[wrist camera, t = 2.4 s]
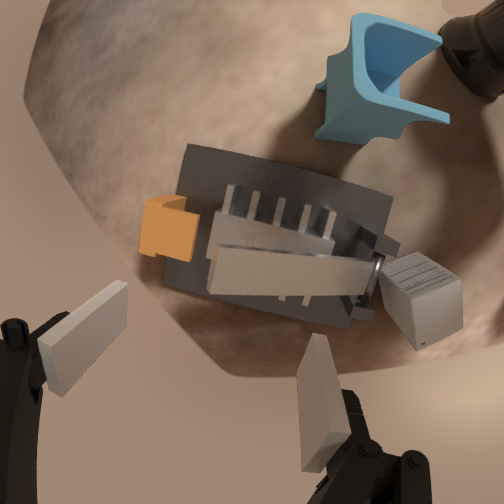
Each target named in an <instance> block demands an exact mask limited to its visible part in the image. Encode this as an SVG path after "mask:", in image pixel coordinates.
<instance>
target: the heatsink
mask: <svg viewBox="0 0 504 504" xmlns="http://www.w3.org/2000/svg"><path fill="white" fill-rule="evenodd" d="M177 195H179V196H184V197H187V198H186V203H185V209H184V211H185V212H190V213H194V214H198V215H200V219H199V224H198V229H197V234H196V239H195V244H194V250H193V255H192V260H191V261H190V262H186V261H182V260H179V259H175V258H171V257H168V256H166V260H165V267H164V274H163V282H162V284H164V285H168V286H171V287H175V288H178V289H182V290H185V291H189V292H192V293H196V294H199V295H203V296H207V297H210V298H214V299H218V300H221V301H225V302H229V303H233V304H237V305H241V306H244V307H248V308H252V309H256V310H261V311H265V312H269V313H273V314H277V315H281V316H286V317H290V318H294V319H299V320H303V321H308V322H312V323H317V324H322V325H326V326H331V327H336V328H341V329H346V330H348V329H349V327H350V325H351V322H352V320H353V319H356V320H361V321H366V322H372V319H373V317H374V314H375V312H376V310H375V309H374V307H373V306H372V304H371V303H370V301H369V303H363V302H361V301H359V300H358V299H357V297H358V295H324V296H273V295H222V294H210V293H209V292H208V290H207V289H206V288H207V283H208V278H209V273H210V268H211V263H212V258H213V253H214V249H215V244H216V243H220V244H230V245H239V246H249V247H258V248H268V249H277V250H286V251H295V252H304V253H314V254H323V255H332V256H341V257H350V258H359V259H368V260H371V258H372V255H373V252H374V251H376V252H381V253H384V254H388V255H391V256H394V257H396V256H397V253H398V250H399V247H400V243H399V242H397V241H395V240H394V239H392V238H390V237H389V236H387V235H385V234H383V233H384V230H385V226H386V223H387V219H388V216H389V212H390V209H391V205H392V201H393V198H394V197H391V196H389V195H386V194H383V193H380V192H377V191H374V190H371V189H368V188H365V187H362V186H359V185H356V184H353V183H350V182H347V181H343V180H340V179H337V178H333V177H330V176H327V175H323V174H320V173H316V172H313V171H309V170H306V169H302V168H298V167H294V166H291V165H287V164H283V163H279V162H275V161H271V160H266V159H262V158H258V157H254V156H249V155H245V154H240V153H235V152H231V151H226V150H221V149H216V148H210V147H205V146H200V145H194V144H187V148H186V153H185V157H184V161H183V166H182V171H181V175H180V180H179V185H178V190H177Z"/></svg>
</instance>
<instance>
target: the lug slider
mask: <svg viewBox="0 0 504 504" xmlns="http://www.w3.org/2000/svg"><path fill="white" fill-rule="evenodd" d="M186 198H187V197H184V196H179V195H174V194H171V195H166V196H161V197H156V198H151V199H146V203H145V209H144V216H143V222H142V229H141V237H140V245H139V253H141V254H145V255H148V256H152V257H156V256H157V255H158V254H160V255H164V256H168V257H171V258H175V259H179V260H182V261H186V262H190V261H191V260H192V255H193V250H194V244H195V239H196V234H197V229H198V224H199V219H200V215H198V214H194V213H190V212H185V211H184V209H185V203H186Z"/></svg>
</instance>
